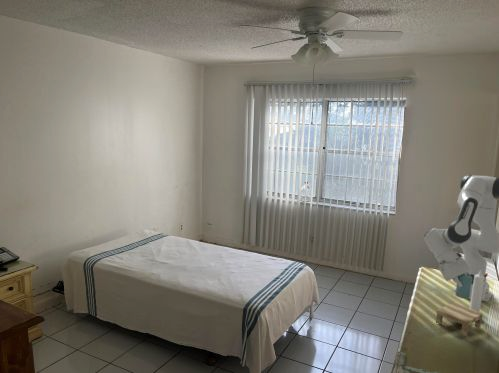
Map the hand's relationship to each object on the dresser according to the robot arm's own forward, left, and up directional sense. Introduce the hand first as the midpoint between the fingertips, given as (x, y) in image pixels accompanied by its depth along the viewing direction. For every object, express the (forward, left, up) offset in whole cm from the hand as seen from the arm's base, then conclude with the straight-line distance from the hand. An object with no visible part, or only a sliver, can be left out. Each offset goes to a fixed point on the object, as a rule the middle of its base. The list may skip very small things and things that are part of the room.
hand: (465, 284), depth 183 cm
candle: (-17, -1, -21) cm, 27 cm away
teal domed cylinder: (0, -1, -6) cm, 6 cm away
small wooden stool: (0, -1, -21) cm, 21 cm away
